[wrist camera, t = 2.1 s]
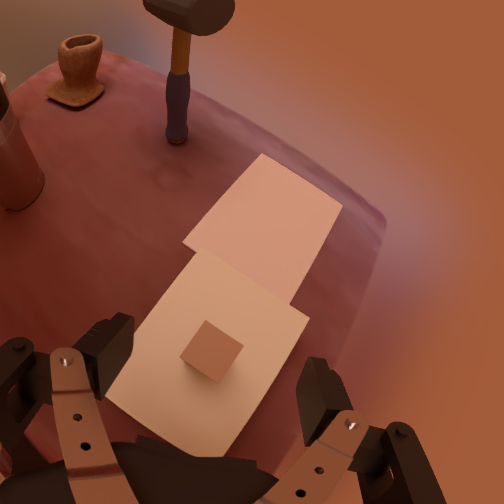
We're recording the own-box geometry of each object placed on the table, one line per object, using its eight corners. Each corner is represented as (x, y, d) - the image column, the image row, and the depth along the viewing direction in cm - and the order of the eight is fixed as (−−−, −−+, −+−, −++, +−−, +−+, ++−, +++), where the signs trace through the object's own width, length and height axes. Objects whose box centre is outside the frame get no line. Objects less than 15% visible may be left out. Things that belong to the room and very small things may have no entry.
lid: (212, 460, 24) (227, 511, 13) (103, 386, 25) (51, 393, 13) (301, 322, 32) (358, 293, 21) (200, 255, 33) (208, 193, 22)
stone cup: (117, 87, 51) (112, 31, 37) (78, 116, 45) (64, 58, 32) (81, 74, 51) (74, 26, 38) (45, 100, 46) (31, 51, 33)
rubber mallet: (213, 151, 47) (246, -15, 20) (177, 169, 44) (187, -12, 17) (176, 114, 50) (189, -30, 23) (143, 129, 47) (139, -24, 20)
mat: (283, 312, 39) (284, 311, 38) (182, 243, 39) (182, 242, 39) (341, 206, 48) (343, 205, 48) (261, 154, 49) (261, 153, 49)
